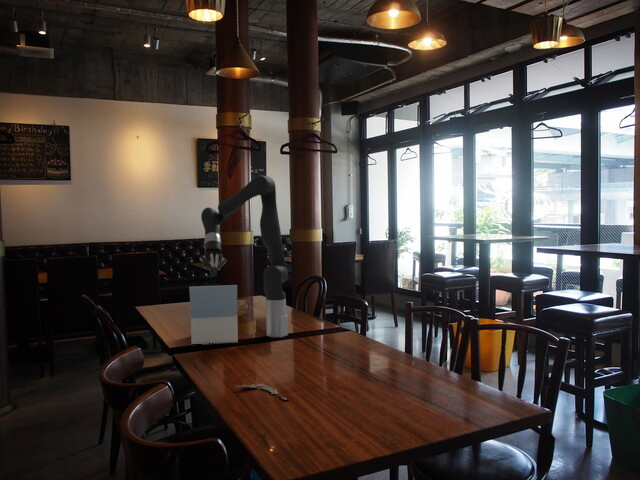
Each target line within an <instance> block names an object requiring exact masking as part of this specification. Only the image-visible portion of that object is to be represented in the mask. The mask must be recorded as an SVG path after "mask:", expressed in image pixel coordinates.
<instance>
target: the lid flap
mask: <svg viewBox="0 0 640 480" xmlns="http://www.w3.org/2000/svg"><path fill="white" fill-rule="evenodd" d="M188 288H189V289H188V290H189V301H190V302H189V303H190V304H189V305H190V306H189V307H190V319H191V318H210V317H231V316H237V301H238V285H237V284H230V285H229V284H228V285H200V286H189V287H188ZM237 317H238V316H237Z"/></svg>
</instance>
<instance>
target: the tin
mask: <svg viewBox="0 0 640 480" xmlns="http://www.w3.org/2000/svg"><path fill="white" fill-rule="evenodd" d="M249 309H250V303H249V302H248V300H246V299H239V300H238V299H237V317H238V316H243V315H246V314H247V313H248V312H249V311H250V310H249Z"/></svg>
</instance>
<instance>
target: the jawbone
mask: <svg viewBox="0 0 640 480" xmlns="http://www.w3.org/2000/svg"><path fill="white" fill-rule="evenodd" d="M255 384H257V383H253V384H250V385H249V384H248V385H246V384H242V385H235V388H242V387H243V388H247V389H253V388H261V389H264V390H267V391H268V392H267V391H266V392H267V393H269V391H270V392H271V395H272V394H277V393H278V392H279V391H278V390H277V389H275V388H273V387H271V386H268V385H266V384H265V383H262V382H261V383H260V384H257V385H255ZM243 388H242V389H243ZM277 391H278V392H277ZM282 397H283V398H282V399H284V400H287V399H288V398H286V397H284V396H282ZM282 399H281V400H282Z"/></svg>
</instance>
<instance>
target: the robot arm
mask: <svg viewBox="0 0 640 480" xmlns="http://www.w3.org/2000/svg"><path fill="white" fill-rule="evenodd" d="M276 190H277V188H276V183H275V181H274V179H273V178H272V177H271V176H268V175H262V174H261V175H257V176H255V177H254V178H252V179H251V181H249V182H248V183H247V184H246V185H245V186H243V188H241V189H240V190H238V191H237V192H236V193H234V194H233V195H232V196H230V197H228V198H227V199H225V200H223V201H222V202H220V203H218V205H217V209H218V210H217V211H216V209H214V208H212V207H209V206H208V207H205V208H203V210H202V212H201V218H200V219H201V222H202V226H203V228H204V242H203V243H204V255H201V256H200V257H199V261H200V262H201V264H202V265H203V266H204V267H205V268H206V269H209V275H210V276H211V277H216V276H217V275H218V270H221V268H222V267H223V266H224V265H225V264H226V263H227V261H228V259H227V258H226V257H225V258H224V257H223V254H222V239H221V229H220V227H219V226H220V225H221V224H222V223H223V222H224V221H225V220H226V219H227V218H228V217H229V216H230V215H232V214H233V213H235V212H236V211H238V210H239V209H240V208H241V207H243V206H244V204H245V203H246V202H248V201H249V200H251V199H253V198H255V197H257V196H260V200H261V207H262V208H261V215H260V219H259V229H260V235H261V239H262V242H263V245H264V246H265V248H266V249H267V252H268V255H269V258H270V259H269V260H270V265H269V266H267V267H266V268H265V269H264V272H263V290H264V291H263V292H264V294H265V303H266V304H265V310H266V312H265V313H266V314H265V315H266V317H265V318H266V321H265V322H266V336H267V337H268V336H269V337H268V338H283V337H286V336H288V335H289V316H288V314H287V301H286V298H287V296H286V295H287V294H286V292H285V291H284V290H283V283H285V282H287V279H288V277H289V269H288V267H287V262H286V258H285V253H284V247H283V241H282V232H281V225H280V220H279V212H278V206H277V192H276Z"/></svg>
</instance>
